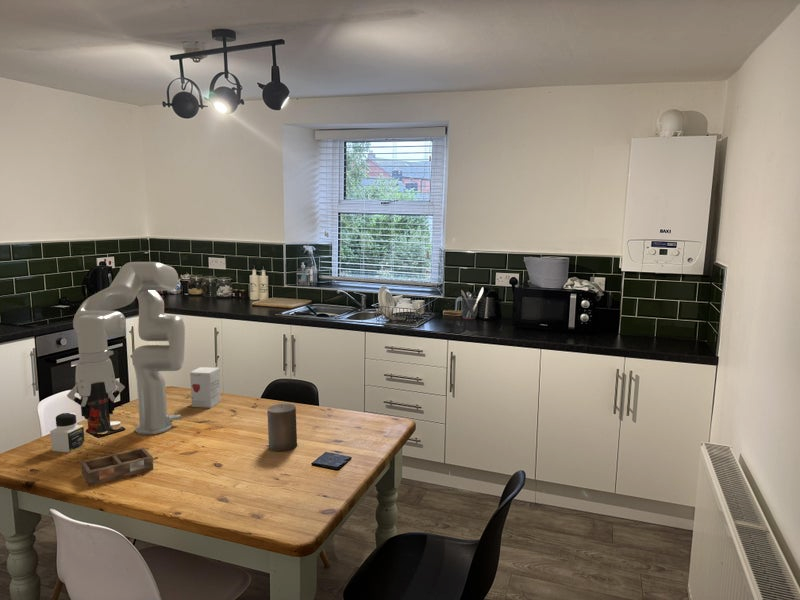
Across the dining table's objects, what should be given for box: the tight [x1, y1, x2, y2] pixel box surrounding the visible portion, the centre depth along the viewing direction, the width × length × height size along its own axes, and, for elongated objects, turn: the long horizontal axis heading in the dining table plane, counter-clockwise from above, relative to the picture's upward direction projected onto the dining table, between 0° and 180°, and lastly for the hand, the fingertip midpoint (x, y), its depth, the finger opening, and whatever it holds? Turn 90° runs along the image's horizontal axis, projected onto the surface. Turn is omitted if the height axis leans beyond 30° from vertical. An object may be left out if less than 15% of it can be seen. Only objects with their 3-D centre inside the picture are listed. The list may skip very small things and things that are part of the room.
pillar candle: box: [266, 403, 298, 452], centre depth 197 cm, size 10×10×15 cm
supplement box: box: [189, 366, 222, 409], centre depth 242 cm, size 9×9×15 cm
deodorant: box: [86, 382, 111, 434], centre depth 172 cm, size 6×6×15 cm
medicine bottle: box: [49, 411, 86, 453], centre depth 195 cm, size 7×7×12 cm
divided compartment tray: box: [80, 446, 154, 487], centre depth 177 cm, size 18×10×4 cm, turn 130°
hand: (98, 415), depth 172 cm, fingers closed on deodorant, 5 cm apart
